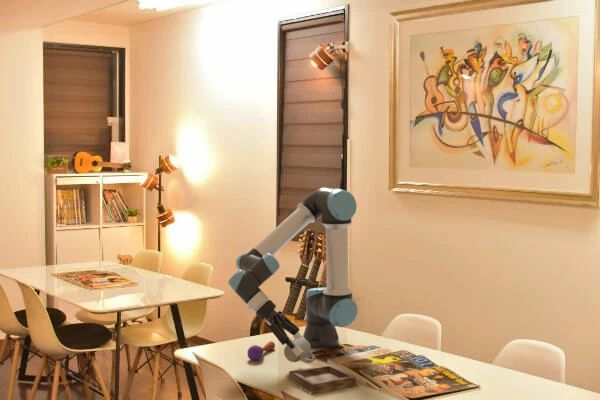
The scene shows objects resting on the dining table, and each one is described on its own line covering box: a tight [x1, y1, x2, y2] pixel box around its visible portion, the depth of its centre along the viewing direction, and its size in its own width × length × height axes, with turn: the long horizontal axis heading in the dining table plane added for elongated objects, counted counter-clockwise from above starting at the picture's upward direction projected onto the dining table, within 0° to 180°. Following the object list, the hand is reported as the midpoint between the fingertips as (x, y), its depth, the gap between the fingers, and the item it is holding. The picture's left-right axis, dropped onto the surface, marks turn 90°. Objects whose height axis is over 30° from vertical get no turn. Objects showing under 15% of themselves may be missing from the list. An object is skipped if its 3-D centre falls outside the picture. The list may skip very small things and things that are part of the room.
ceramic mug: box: [283, 337, 315, 364], centre depth 304 cm, size 11×8×8 cm
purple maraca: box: [247, 340, 276, 362], centre depth 323 cm, size 6×6×20 cm
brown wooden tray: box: [286, 364, 359, 395], centre depth 288 cm, size 18×18×3 cm
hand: (304, 350), depth 304 cm, fingers closed on ceramic mug, 9 cm apart
